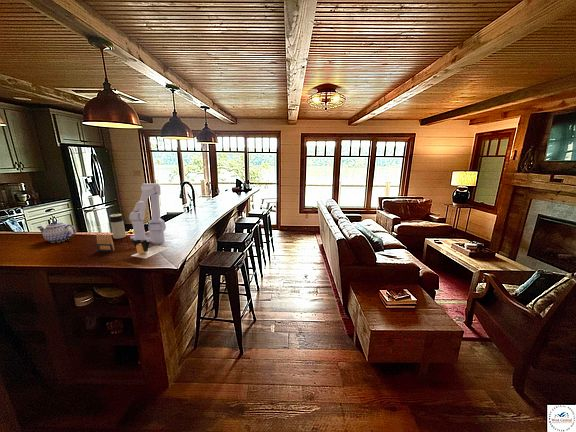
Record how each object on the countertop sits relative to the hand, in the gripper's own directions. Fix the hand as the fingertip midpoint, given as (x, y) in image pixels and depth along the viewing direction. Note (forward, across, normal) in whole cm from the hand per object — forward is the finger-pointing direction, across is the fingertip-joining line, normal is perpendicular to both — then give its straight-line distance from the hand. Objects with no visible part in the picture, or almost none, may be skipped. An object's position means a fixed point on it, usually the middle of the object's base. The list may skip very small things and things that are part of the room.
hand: (142, 250), depth 144 cm
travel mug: (+4, -48, +20) cm, 52 cm away
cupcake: (+1, 0, 0) cm, 1 cm away
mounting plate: (+3, +2, +4) cm, 6 cm away
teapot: (+4, -83, 0) cm, 83 cm away
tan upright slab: (+4, -30, -2) cm, 30 cm away
